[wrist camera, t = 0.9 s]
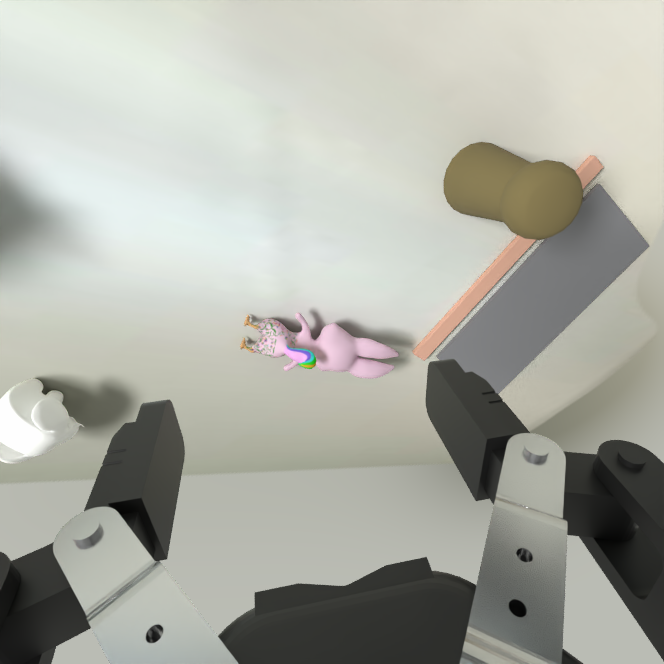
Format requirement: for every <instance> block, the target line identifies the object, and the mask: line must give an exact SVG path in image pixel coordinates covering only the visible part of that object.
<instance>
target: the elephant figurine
mask: <svg viewBox="0 0 664 664" xmlns="http://www.w3.org/2000/svg"><path fill="white" fill-rule="evenodd" d="M42 390H43V384H42V382H41V381H39V380H38V379H29V380H25V381H23V382H21V383H19V384H17V385H15V386H14V387H12V388H11V389H10V390H9V391H8V392H7V393H6V394H5V395H4V396H3V397H2V398H1V399H0V441H1V443H0V460H1V461H3V462H5V463H20V462H23V461H26V460H29V459H31V458H33V457H34V456H38V455H43V454H46V453H48V452H49V451H51V450H52V449H53V448H55V447H56V446H58V445H60V444H62V443H64V442H66V441H68V440H69V439H71V438H72V437H73V436H74V435H75V434H76V433H77V431H78V430H79V426H82V427H84V426H83V425H82V424H80V423H77V422H76V420H75V419H74V418H73V417H69V415H68V412H67V410H66V408H65V407H64V406H63V405H62V401H63V394H62V393H61V392H60V391H56V390H53V391H50V392H48V393H47V394H46V395H44V394H43V393H42Z"/></svg>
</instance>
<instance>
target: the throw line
mask: <svg viewBox="0 0 664 664" xmlns="http://www.w3.org/2000/svg"><path fill="white" fill-rule="evenodd" d="M602 168H603V166H602V164H601V163H600V162H599V161H598V159H597V158H596V157H595V156H591V155H590V156H589V157H588V158H587V159H586V160H585V162H584V163H583V164H582V165H581V166H580V167H579V168H578V169H577V170H576V171H575V172H576V173H577V175H578V176H579V178H580V180H581V183H582V188H583V189H584V188H585V186H586V185H587V184H588V183H589V182H590V181H591V180H592V179H593V178H594V177H595V176H596V175H597V173H598V172H599V171H600V170H601V169H602ZM534 242H535V239H525V238H523V237H521V236H519V235H517V237H516V238H515V239H514V240H513V241H512V242H511V243H510V244H509V245H508V247H507V248H506V249H505V250H504V251H503V252H502V253H501V254H500V255H499V256H498V258H497V259H496V260H495V261H494V262H493V263H492V264H491V265H490V266H489V267H488V269H487V270H486V271H485V272H484V273H483V274H482V275H481V276H480V277H479V279H478V280H477V281H476V282H475V283H474V284H473V285H472V286H471V287H470V288H469V290H468V291H467V292H466V293H465V294H464V295H463V296H462V297H461V298H460V299H459V301H458V302H457V303H456V304H455V305H454V306H453V307H452V308H451V309H450V311H449V312H448V313H447V314H446V315H445V316H444V317H443V318H442V319H441V320H440V322H439V323H438V324H437V325H436V326H435V327H434V328H433V329H432V330H431V331H430V333H429V334H428V335H427V336H426V337H425V338H424V339H423V340H422V341H421V342H420V344H419V345H418V346H417V347H416V348H415V349H414V350H413V353H414V354H415V355H416V356H418V357H419V358H421V359H422V360H424V361H425V359H426V358H427V357H428V356H429V355H430V354H431V353H432V352H433V351H434V350H435V349H436V348H437V346H438V345H439V344H440V343H441V342H442V341H443V340H444V339H445V338H446V337H447V336H448V335H449V333H450V332H451V331H452V330H453V329H454V328H455V327H456V326H457V325H458V324H459V323H460V322H461V321H462V319H463V318H464V317H465V316H466V315H467V314H468V313H469V312H470V311H471V310H472V309H473V308H474V306H475V305H476V304H477V303H478V302H479V301H480V300H481V299H482V298H483V297H484V296H485V295H486V293H487V292H488V291H489V290H490V289H491V288H492V287H493V286H494V285H495V284H496V283H497V282H498V281H499V279H500V278H501V277H502V276H503V275H504V274H505V273H506V272H507V271H508V270H509V269H510V268H511V266H512V265H513V264H514V263H515V262H516V261H517V260H518V259H519V258H520V257H521V256H522V255H523V253H524V252H525V251H526V250H527V249H528V248H529V247H530V246H531V245H532V244H533V243H534Z"/></svg>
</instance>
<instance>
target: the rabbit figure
mask: <svg viewBox="0 0 664 664" xmlns="http://www.w3.org/2000/svg"><path fill="white" fill-rule="evenodd" d="M247 316H248V315H247ZM295 316H296V318H297V320H299V321H300V323H301V325H302V331H301V332H297V333H294V332H291V331H289V330H288V329H287V328H286V327H285V326H284V325H283V324H281V323H280V322H279V321H277V320H275V319H270V318H268V319H265V320H263V321H262V322H261V323H259V324H257V325H253V324H251V323H250V322H249V316H248V317H246V320H245V322H244V324H245V325H244V326H246V325H249V326H251V327H253V328H255V329H257V330H258V331H259V332H261V333H262V334H263V336H262V337H260V338H259V339H258V340H257V342H256V344H255V345H254V346H253V347H247V346H246V345H245V338H244V337H243V338H244V340H243V341H242V343H241V346H240V347H241V348H240V349H242V348H245V349H247V350H248V351H250V352H252V353H253V352H257V353H261V354H264V355H267V356H270V357H281V356H284V355H285V354H286V355H288V356H289V357H290V358H291V359H293V361H292V362H291V363H290V364H287V365H285V366H284V370H285V371H288V370H290V369H292V368H293V367H295V366H296V365H297V364H298V363H299V365H300V366H302V367H304V368H307V369H312V368H313V367H314V366H315V365H317V366H318V368H319V369H320V370H322V371H336V372H343V371H348V372H350V373H351V374H352V375H354V376H356V377H360V378H378V377H381V376H383V375H385V374H387V373H388V372H390V371H391V370H393V369H394V366H393V365H389V364H386V363H382V362H378V361H374V360H369V359H364V358H360V357H358V356H362V357H367V358H377V359H385V358H391V357H397V356H399V354H398V352H397V351H395V350H394V349H392V348H390V347H388V346H386V345H384V344H381V343H379V342H377V341H374V340H371V339H368V338H356V337H353V336H351V335H350V334H349V333H347V332H346V331H345V330H344V329H342V328H341V327H340V326H338V325H337V324H335V323H331V324H328V325H326V326H325V327H324V328H323V329H322V331H321V334H320V336H319V337H318V338H317V339H316V340H314V339H312V337H311V332H310V329H309V326H308V324H307V322H306V320H305V319H304V317H303V316H302V315H301V314H300V313H297V314H296V315H295ZM313 353H314V354H313Z"/></svg>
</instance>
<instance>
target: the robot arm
mask: <svg viewBox="0 0 664 664" xmlns="http://www.w3.org/2000/svg"><path fill="white" fill-rule="evenodd" d="M426 408H427V413H428V416H429V418H430V420H431V422H432V424H433V425H434V427H435V429H436V431H437V433H438V434H439V436H440V438H441V440H442V441H443V443H444V445H445V447H446V449H447V450H448V452H449V454H450V456H451V457H452V459H453V461H454V463H455V465H456V466H457V468H458V470H459V472H460V473H461V475H462V477H463V479H464V481H465V482H466V484H467V486H468V488H469V489H470V491H471V493H472V495H473V497H474V498H475V500H476V501H478V500H484V499H489V498H490V500H491V501H492V503H493V505H494V507H493V512H492V516H491V521H490V525H489V530H488V535H487V539H486V544H485V548H484V553H483V558H482V562H481V567H480V572H479V576H478V581H477V586H476V585H475V584H473V583H471V582H469V581H467V580H465V579H463V578H461V577H458V576H455V575H452V574H448V573H443V572H439V571H432V570H431V567H430V565H429V562H428V560H427V557H425V558H420V559H415V560H410V561H405V562H400V563H396V564H391V565H386V566H384V567H382V568H380V569H378V570H376V571H374V572H372V573H370V574H368V575H366V576H364V577H363V578H361V579H359V580H357V581H355V582H353V583H351V584H349V585H346V586H331V585H330V586H329V585H314V584H294V585H290V586H285V587H280V588H275V589H270V590H265V591H260V592H255V608H253V609H252V610H250V611H248V612H246V613H245V614H243V615H242V616H240V617H239V618H237V619H236V620H235V621H234V622H232V623H231V624H230V625H229V626H227V627H226V629H224V631H222V633H221V634H220V635H219V636H217V635H216V634H215V632H214V631H213V630H212V628H211V627H210V626H209V624H208V623H207V622H206V620H205V619H204V618H203V616H202V615H201V614H200V613H199V611H198V610H197V609H196V607H195V606H194V605H193V603H192V602H191V601H190V599H189V598H188V597H187V595H186V594H185V593H184V592H183V590H182V589H181V588H180V586H179V585H178V584H177V582H176V581H175V580H174V579H173V577H172V576H171V575H170V573H169V572H168V571H167V569H166V568H165V567H164V566H163V564H162V563H161V562H159V561H160V560H165V559H167V556H168V550H169V544H170V538H171V533H172V527H173V520H174V515H175V509H176V503H177V498H178V492H179V486H180V480H181V474H182V469H183V463H184V455H185V450H184V441H183V437H182V433H181V430H180V427H179V424H178V420H177V417H176V414H175V411H174V408H173V405H172V402H171V401H170V400H163V401H156V402H149V403H143V404H142V405H141V408H140V411H139V414H138V417H137V419H136V422H132V423H125V424H124V425H123V426H122V428H121V429H120V430H119V431H118V432H117V433H116V434H115V435H114V436H113V438H112V440H111V443H110V445H109V448H108V451H107V454H106V456H105V458H104V461H103V463H102V464H103V466H102V467H101V469H100V471H99V474H98V476H97V479H96V481H95V484H94V487H93V489H92V492H91V495H90V497H89V499H88V502H87V504H86V507H85V510H84V512H82V513H80V514H79V515H77V516H75V517H74V518H72V519H71V520H70V521H69V522H67V523H66V524H65V526H63V528H62V529H61V530H60V531H59V533H58V534H57V536H56V538H55V541H54V542H53V543H52V544H49V545H47V546H45V547H43V548H41V549H39V550H36V551H34V552H32V553H29V554H27V555H25V556H22V557H20V558H18V559H16V560H13V561H10V559H9V558H8V557H7V555H5V554H4V553H2V552H0V664H51V662H52V659H53V656H54V652H55V649H56V646H58V645H59V644H61V643H63V642H65V641H67V640H69V639H71V638H73V637H74V636H77V635H78V634H80V633H82V632H84V631H86V630H88V629H90V628H92V631H93V633H94V634H95V636H96V638H97V640H98V642H99V644H100V646H101V648H102V650H103V651H104V653H105V655H106V657H107V659H108V661H109V663H110V664H583V663H582V662H580V661H579V660H577V659H576V658H575V657H573V656H572V655H571V654H569V653H568V652H567V651H565V650H564V649H562V647H563V623H564V600H565V574H566V553H567V535H574V536H579V537H580V539H581V540H582V541H583V543H584V544H585V546H586V547H587V549H588V550H589V552H590V553H591V555H592V556H593V558H594V559H595V561H596V562H597V563H598V565H599V566H600V568H601V569H602V571H603V572H604V574H605V575H606V577H607V578H608V580H609V581H610V583H611V584H612V585H613V587H614V589H615V590H616V591H617V593H618V594H619V596H620V597H621V598H622V600H623V602H624V603H625V605H626V606H627V608H628V609H629V611H630V612H631V614H632V615H633V616H634V618H635V619H636V621H637V622H638V624H639V625H640V626H641V628H642V629H643V631H644V633H645V634H646V636H647V637H648V639H649V640H650V642H651V643H652V644H653V646H654V647H655V649H656V650H657V652H658V653H659V655H660V656H661V658H662V659H663V661H664V463H663V462H661V461H660V460H659V459H658V458H657V457H656V456H655V455H654V454H653V453H651V452H650V451H649V450H647V449H645V448H643V447H641V446H639V445H637V444H634V443H631V442H627V441H622V440H610V441H606V442H604V443H603V444H601V445H600V447H599V449H598V452H597V455H595V454H583V453H572V452H564V451H563V450H562V449H561V448H560V447H559V446H558V445H557V444H556V443H554V442H553V441H552V440H550V439H548V438H546V437H544V436H541V435H538V434H532V433H530V432H529V431H528V430H527V428H526V427H525V426H524V425H523V424H522V422H521V421H520V420H519V419H518V418H517V416H516V415H515V414H514V413H513V412H512V410H511V409H510V408H509V407H508V406H507V405H506V403H505V402H503V401H502V399H501V397H500V396H499V395H498V394H497V393H495V390H494V389H493V388H492V387H491V385H490V384H489V383H488V382H487V381H486V380H485V379H484V378H482V377H480V376H479V375H477V374H475V373H474V372H466V373H465V371H464V370H463V369H462V368H461V366H460V365H459V364H458V363H457V361H456V360H455V359H446V360H440V361H433V362H430V363H429V365H428V375H427V389H426ZM155 561H157V562H155Z"/></svg>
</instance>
